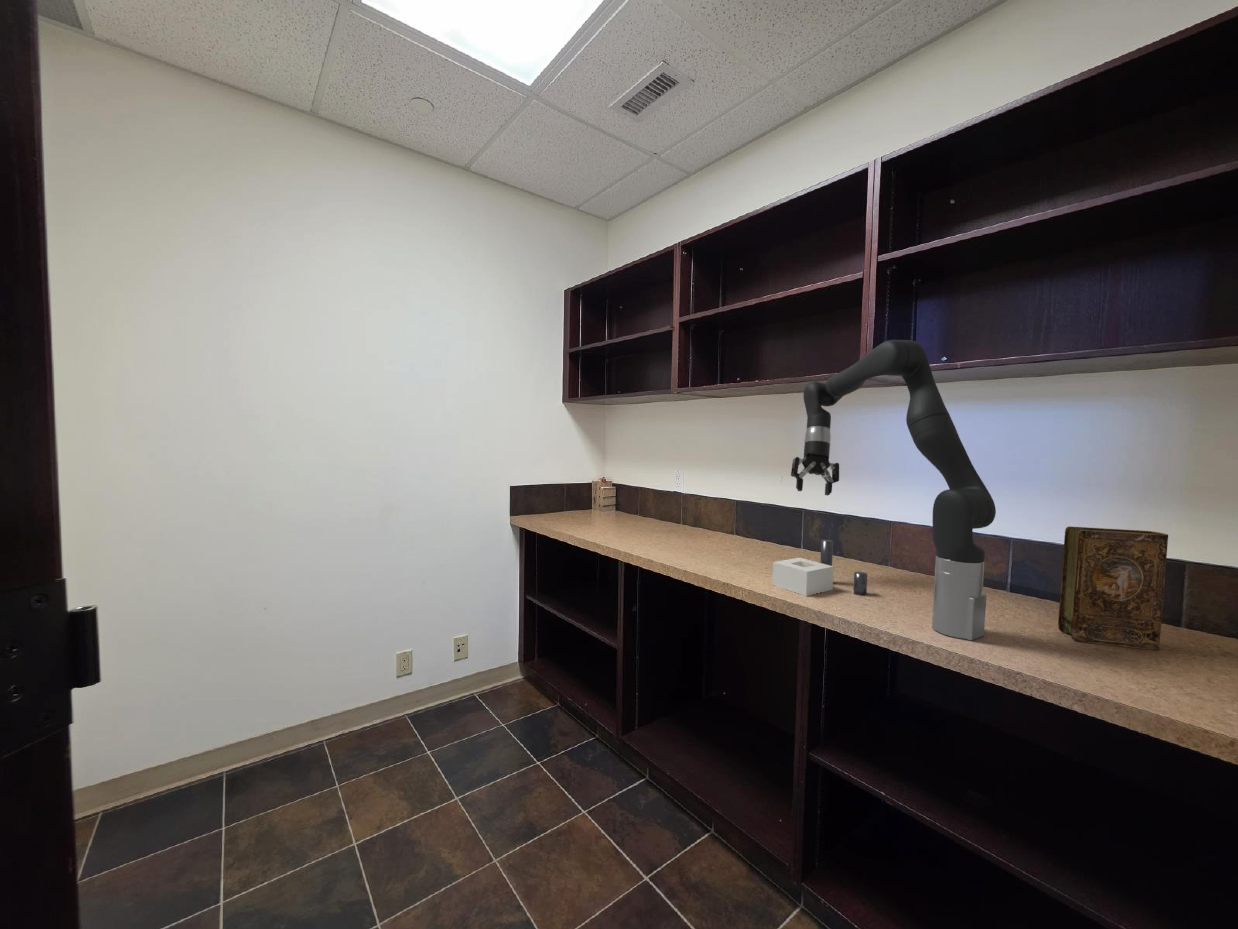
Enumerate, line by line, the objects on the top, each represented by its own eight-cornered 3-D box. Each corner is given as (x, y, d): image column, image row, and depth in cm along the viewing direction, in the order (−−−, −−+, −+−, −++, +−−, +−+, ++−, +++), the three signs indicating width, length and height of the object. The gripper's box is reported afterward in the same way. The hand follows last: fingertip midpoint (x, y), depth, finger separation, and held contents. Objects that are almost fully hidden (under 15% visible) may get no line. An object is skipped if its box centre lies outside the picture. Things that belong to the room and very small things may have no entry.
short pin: (869, 594, 141) (870, 573, 141) (862, 596, 140) (862, 575, 139) (857, 591, 144) (858, 571, 144) (850, 593, 143) (851, 572, 142)
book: (1146, 641, 111) (1154, 531, 110) (1164, 651, 106) (1174, 535, 104) (1057, 631, 116) (1064, 526, 114) (1071, 641, 110) (1078, 530, 109)
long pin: (833, 583, 152) (835, 541, 151) (826, 584, 150) (828, 542, 150) (824, 580, 155) (825, 539, 154) (817, 581, 153) (818, 540, 153)
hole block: (832, 590, 145) (833, 566, 145) (806, 596, 139) (807, 571, 138) (798, 579, 155) (799, 557, 155) (772, 585, 149) (773, 562, 148)
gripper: (799, 436, 153) (795, 488, 150) (845, 443, 153) (841, 494, 150) (790, 442, 160) (786, 491, 157) (834, 448, 160) (831, 498, 157)
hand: (813, 493), depth 153 cm, fingers open, 8 cm apart
